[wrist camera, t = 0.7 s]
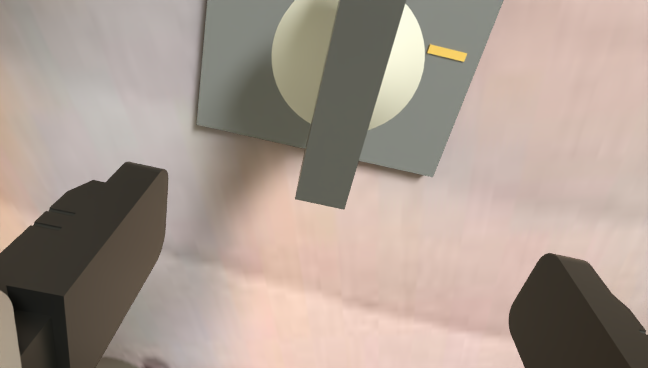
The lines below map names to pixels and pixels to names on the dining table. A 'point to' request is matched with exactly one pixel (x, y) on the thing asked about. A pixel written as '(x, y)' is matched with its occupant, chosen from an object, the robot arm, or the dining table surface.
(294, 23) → the coupling
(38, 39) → the dining table surface
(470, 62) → the post board
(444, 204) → the dining table surface
